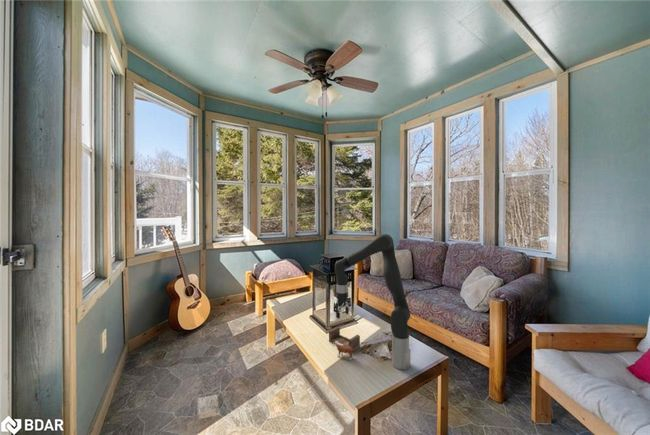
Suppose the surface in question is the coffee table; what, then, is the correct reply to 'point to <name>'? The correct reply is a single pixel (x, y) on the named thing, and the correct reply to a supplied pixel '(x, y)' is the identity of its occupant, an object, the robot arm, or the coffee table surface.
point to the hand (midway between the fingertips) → (342, 315)
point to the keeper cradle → (343, 338)
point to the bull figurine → (344, 349)
